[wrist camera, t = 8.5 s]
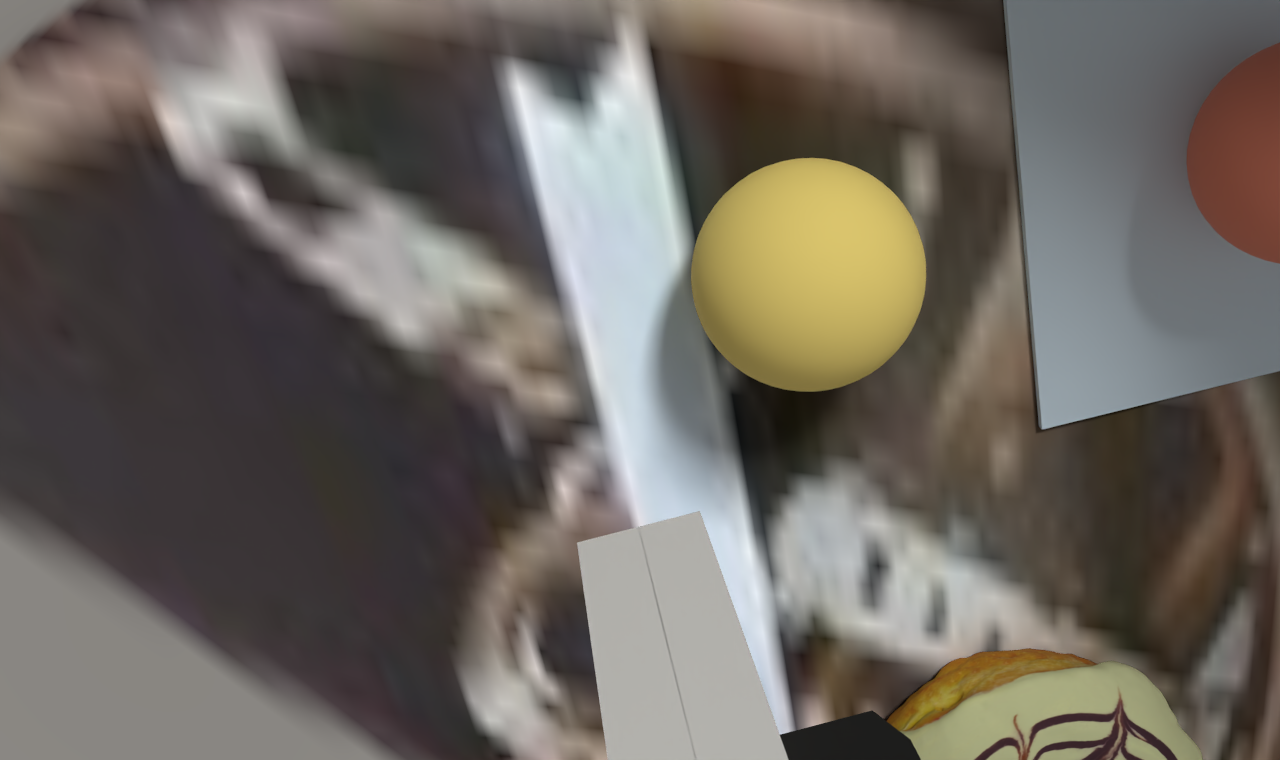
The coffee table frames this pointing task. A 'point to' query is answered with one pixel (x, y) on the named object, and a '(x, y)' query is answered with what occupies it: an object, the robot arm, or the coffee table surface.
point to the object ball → (1241, 156)
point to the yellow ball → (808, 274)
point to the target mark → (1130, 203)
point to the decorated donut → (1041, 711)
